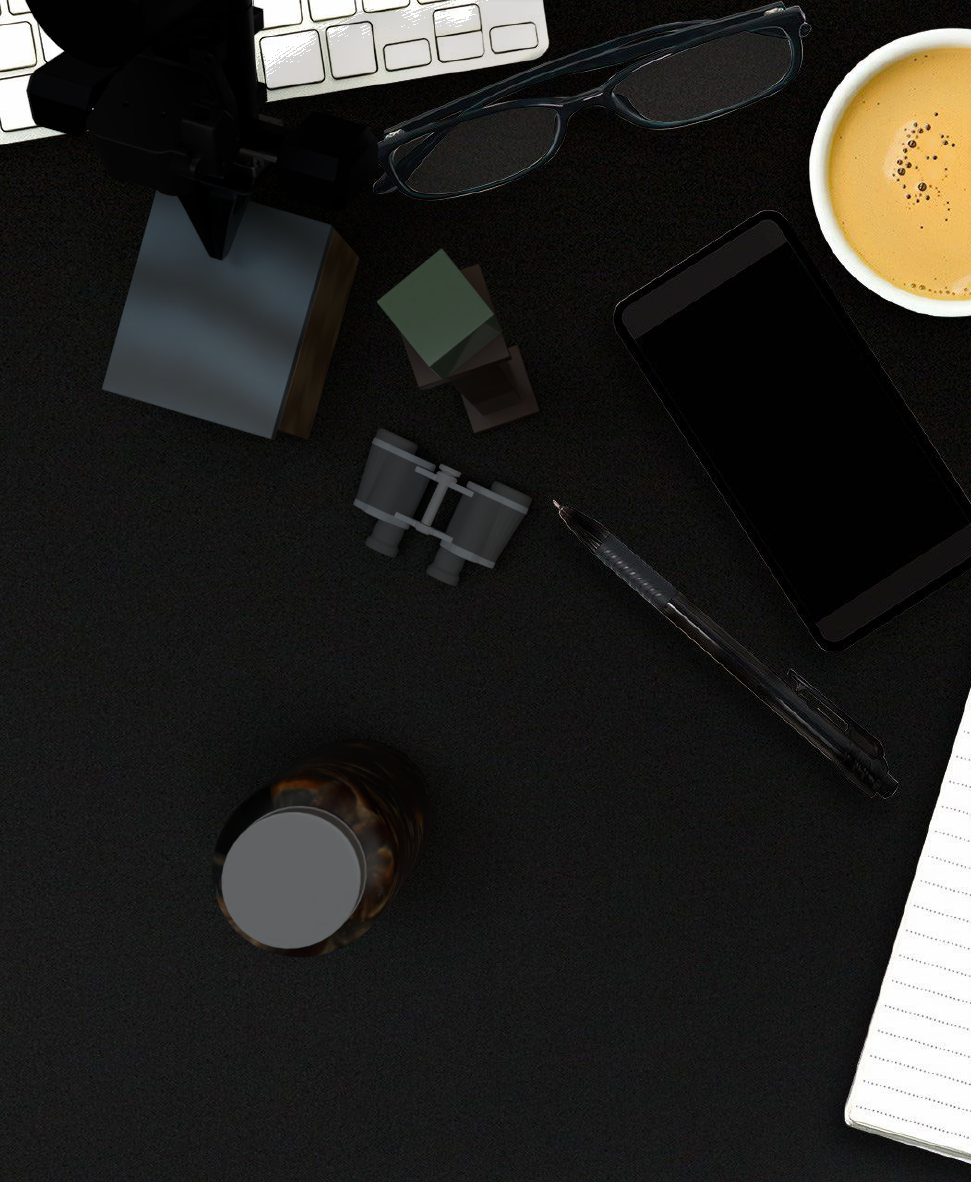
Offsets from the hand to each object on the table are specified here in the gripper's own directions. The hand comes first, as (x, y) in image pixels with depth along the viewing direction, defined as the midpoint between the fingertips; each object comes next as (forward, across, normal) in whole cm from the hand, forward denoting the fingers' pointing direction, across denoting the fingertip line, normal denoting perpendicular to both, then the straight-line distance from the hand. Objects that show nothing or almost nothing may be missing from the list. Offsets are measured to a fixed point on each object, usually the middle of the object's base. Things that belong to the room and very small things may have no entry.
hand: (219, 256), depth 67 cm
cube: (-8, +18, -11) cm, 22 cm away
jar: (+31, +16, -18) cm, 40 cm away
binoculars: (+15, +16, -2) cm, 22 cm away
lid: (+4, 0, -1) cm, 4 cm away
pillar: (+8, +18, +5) cm, 20 cm away
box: (+8, 0, +5) cm, 10 cm away
